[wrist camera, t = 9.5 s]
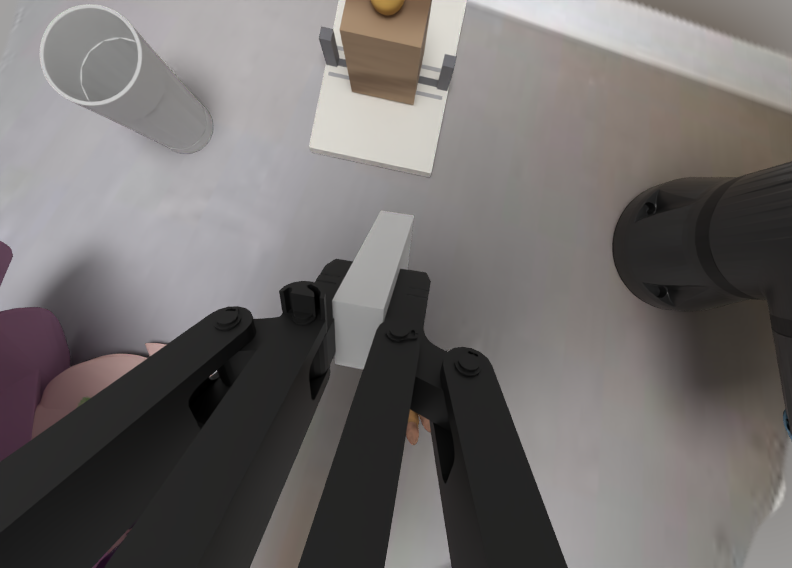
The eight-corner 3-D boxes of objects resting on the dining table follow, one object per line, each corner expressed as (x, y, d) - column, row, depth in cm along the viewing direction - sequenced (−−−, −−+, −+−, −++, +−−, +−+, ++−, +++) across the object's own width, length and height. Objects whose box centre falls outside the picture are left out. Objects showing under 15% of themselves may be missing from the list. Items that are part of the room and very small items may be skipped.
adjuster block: (413, 105, 37) (424, 22, 25) (351, 91, 36) (333, 2, 25) (424, 52, 37) (440, -55, 25) (362, 38, 36) (349, -76, 25)
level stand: (429, 177, 38) (436, 160, 33) (312, 152, 38) (298, 130, 33) (464, 9, 38) (476, -36, 33) (346, -17, 38) (339, -67, 33)
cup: (215, 88, 38) (134, -2, 26) (224, 156, 38) (147, 99, 26) (146, 95, 38) (32, 9, 26) (155, 164, 38) (46, 110, 26)
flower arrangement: (306, 442, 44) (286, 678, 16) (160, 603, 39) (-228, 1336, 11) (93, 253, 39) (-433, 136, 12) (-102, 408, 34) (-1747, 817, 7)
